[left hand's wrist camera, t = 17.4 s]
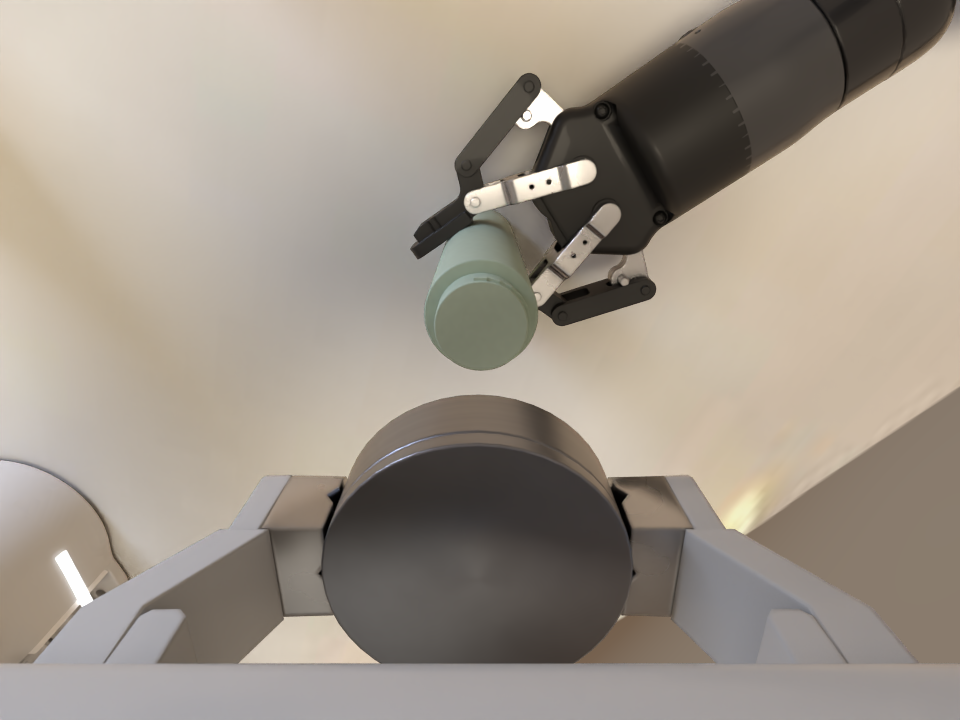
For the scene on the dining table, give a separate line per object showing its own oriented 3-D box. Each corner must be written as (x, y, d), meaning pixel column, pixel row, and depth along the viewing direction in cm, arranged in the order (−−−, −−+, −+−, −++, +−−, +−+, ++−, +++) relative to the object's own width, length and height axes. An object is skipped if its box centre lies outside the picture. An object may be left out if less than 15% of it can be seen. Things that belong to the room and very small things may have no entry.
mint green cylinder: (514, 274, 39) (540, 382, 21) (449, 275, 39) (423, 384, 21) (514, 207, 37) (543, 266, 20) (447, 208, 37) (417, 267, 20)
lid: (507, 338, 9) (512, 380, 7) (658, 534, 10) (691, 603, 9) (289, 490, 10) (253, 555, 9) (454, 649, 12) (450, 730, 10)
